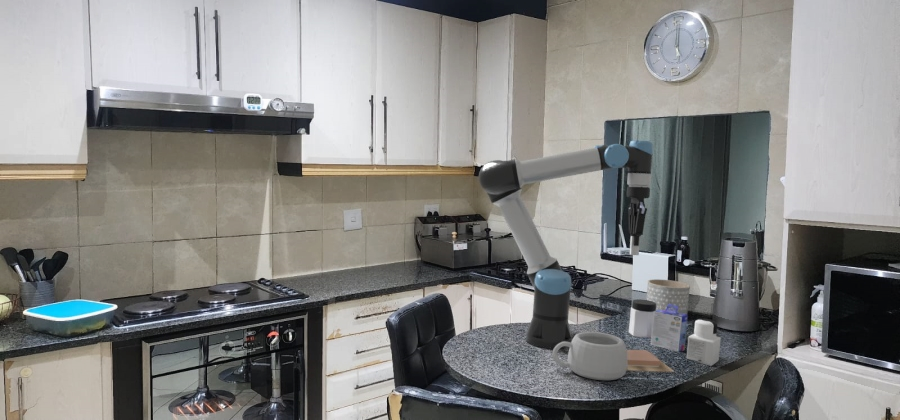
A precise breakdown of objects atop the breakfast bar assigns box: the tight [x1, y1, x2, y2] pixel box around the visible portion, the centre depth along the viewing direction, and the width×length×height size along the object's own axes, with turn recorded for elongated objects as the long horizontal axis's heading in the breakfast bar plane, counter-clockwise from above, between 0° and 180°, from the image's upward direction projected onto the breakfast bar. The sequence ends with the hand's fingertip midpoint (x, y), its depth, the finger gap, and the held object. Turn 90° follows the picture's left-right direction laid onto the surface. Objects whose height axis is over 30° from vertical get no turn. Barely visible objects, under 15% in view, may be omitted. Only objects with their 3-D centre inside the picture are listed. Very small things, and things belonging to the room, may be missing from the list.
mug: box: [552, 331, 628, 381], centre depth 174 cm, size 21×17×10 cm
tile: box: [627, 349, 660, 367], centre depth 185 cm, size 10×2×10 cm
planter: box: [645, 279, 691, 315], centre depth 252 cm, size 16×16×13 cm
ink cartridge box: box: [650, 304, 689, 352], centre depth 202 cm, size 10×6×14 cm, turn 49°
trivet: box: [626, 351, 675, 373], centre depth 185 cm, size 16×18×1 cm
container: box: [686, 318, 722, 367], centre depth 191 cm, size 8×8×13 cm
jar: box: [628, 299, 656, 339], centre depth 217 cm, size 9×8×12 cm
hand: (634, 254), depth 208 cm, fingers closed
